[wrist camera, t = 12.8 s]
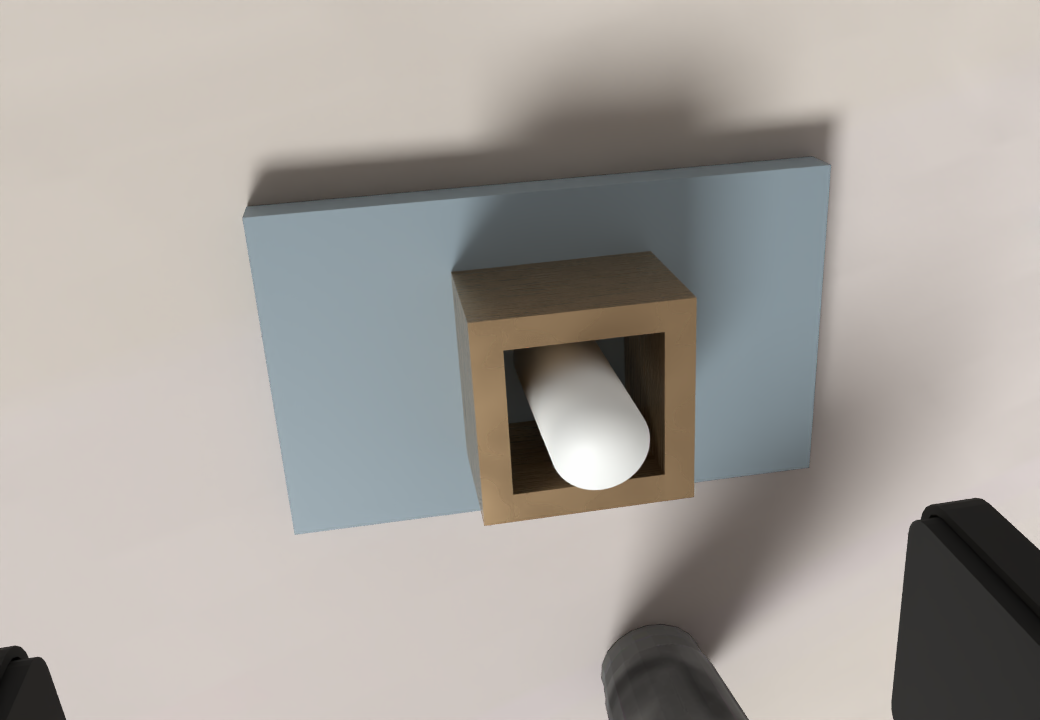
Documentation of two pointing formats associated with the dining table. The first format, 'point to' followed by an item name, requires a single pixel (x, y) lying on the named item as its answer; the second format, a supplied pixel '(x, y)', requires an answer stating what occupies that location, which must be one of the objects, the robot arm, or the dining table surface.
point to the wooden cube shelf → (566, 319)
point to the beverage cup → (664, 679)
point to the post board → (407, 335)
